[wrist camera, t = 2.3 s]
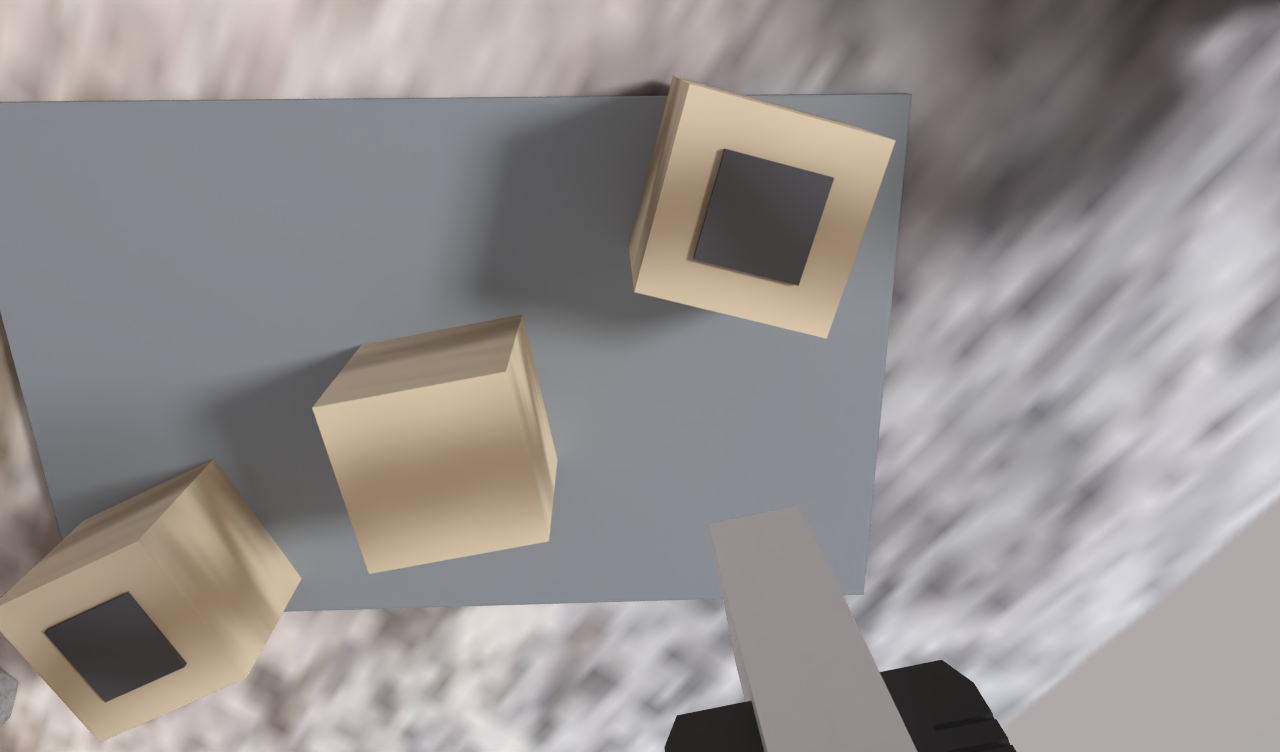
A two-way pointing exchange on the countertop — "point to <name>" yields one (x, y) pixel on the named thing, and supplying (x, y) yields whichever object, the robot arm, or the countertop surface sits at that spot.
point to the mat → (422, 327)
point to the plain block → (441, 444)
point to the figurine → (6, 696)
